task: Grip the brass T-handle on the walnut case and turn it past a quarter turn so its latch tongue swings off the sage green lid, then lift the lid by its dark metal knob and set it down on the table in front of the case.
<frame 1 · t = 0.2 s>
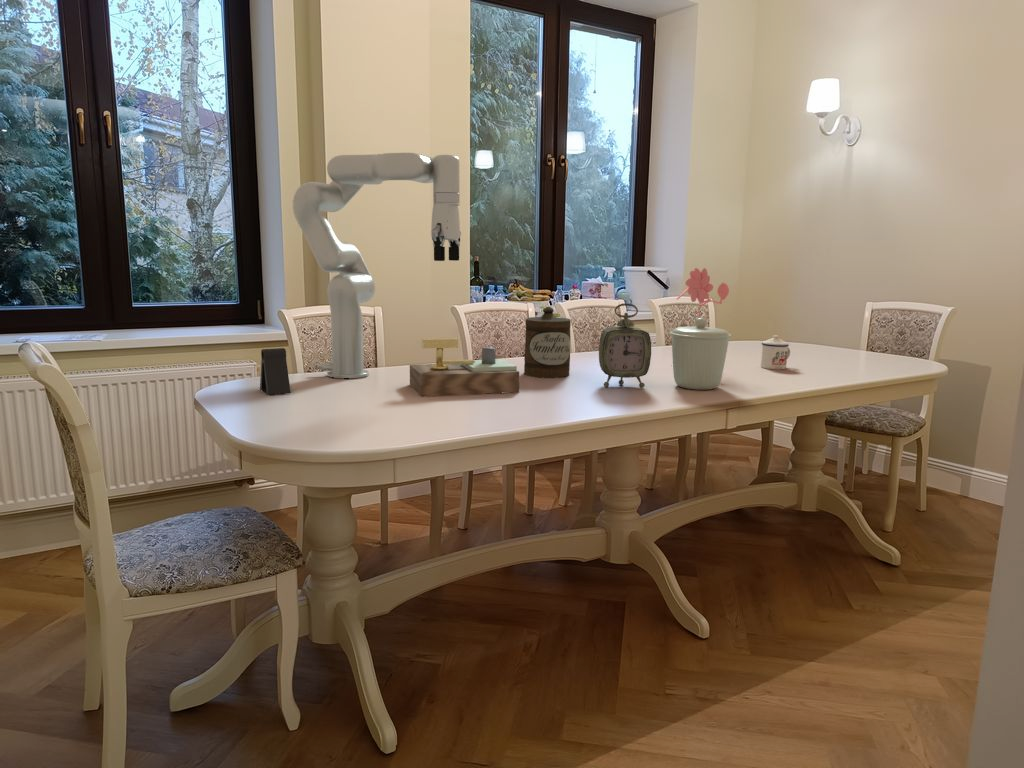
hand: (446, 260, 216), 36 cm above the table, tool pointing down, fingers open, 9 cm apart
lid: (488, 367, 217), point 6 cm above the table, touching walnut case
brass key: (448, 353, 212), point 10 cm above the table, hinge at 0.0°
walnut case: (463, 388, 216), on the table
pink paper flower: (692, 367, 265), on the table
canister: (696, 387, 226), on the table
black folding stand: (275, 392, 205), on the table
tabletop clock: (622, 386, 225), on the table
wooden container: (546, 374, 244), on the table
teacup with lid: (776, 368, 268), on the table
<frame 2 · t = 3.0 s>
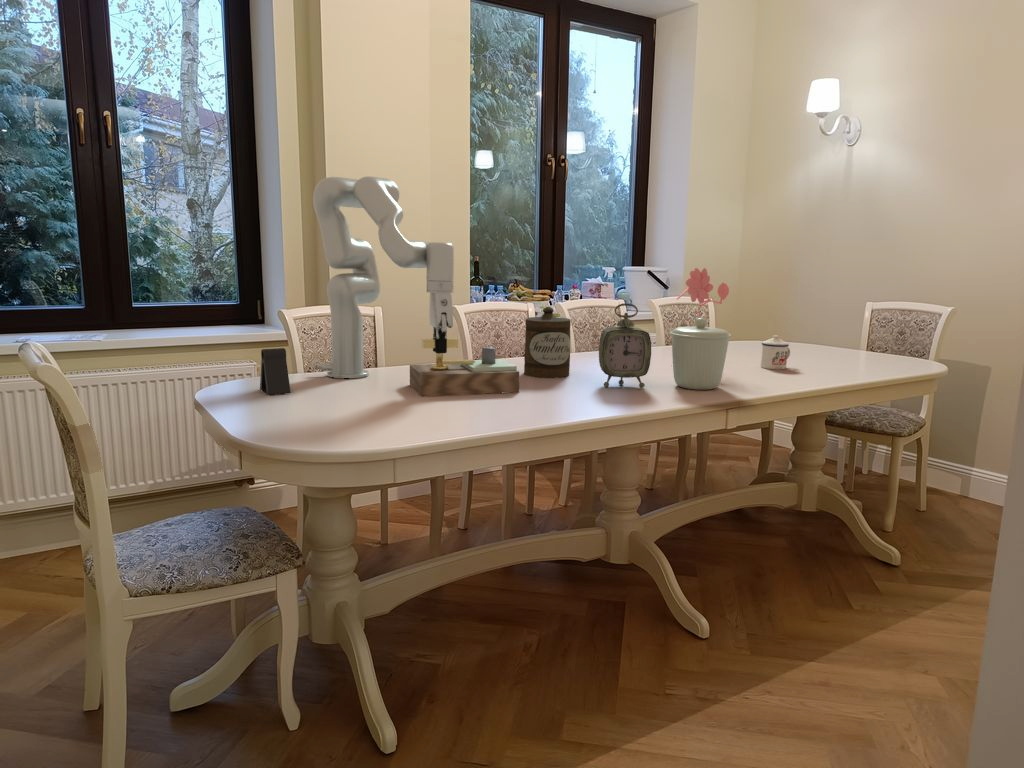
hand: (439, 351, 212), 11 cm above the table, tool pointing down, fingers closed on brass key, 2 cm apart
brass key: (448, 353, 212), point 10 cm above the table, hinge at 0.0°, touching gripper
everything else where it was.
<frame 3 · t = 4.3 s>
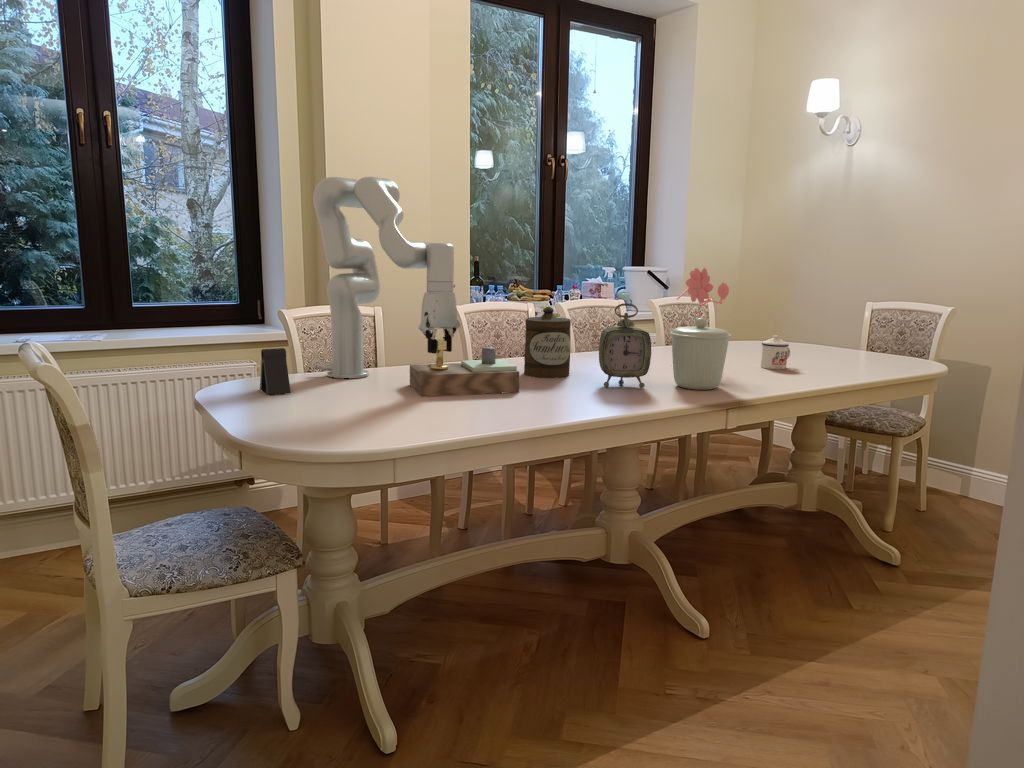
hand: (439, 351, 212), 11 cm above the table, tool pointing down, fingers closed on brass key, 5 cm apart
brass key: (438, 352, 214), point 10 cm above the table, hinge at 85.1°, touching gripper
everything else where it was.
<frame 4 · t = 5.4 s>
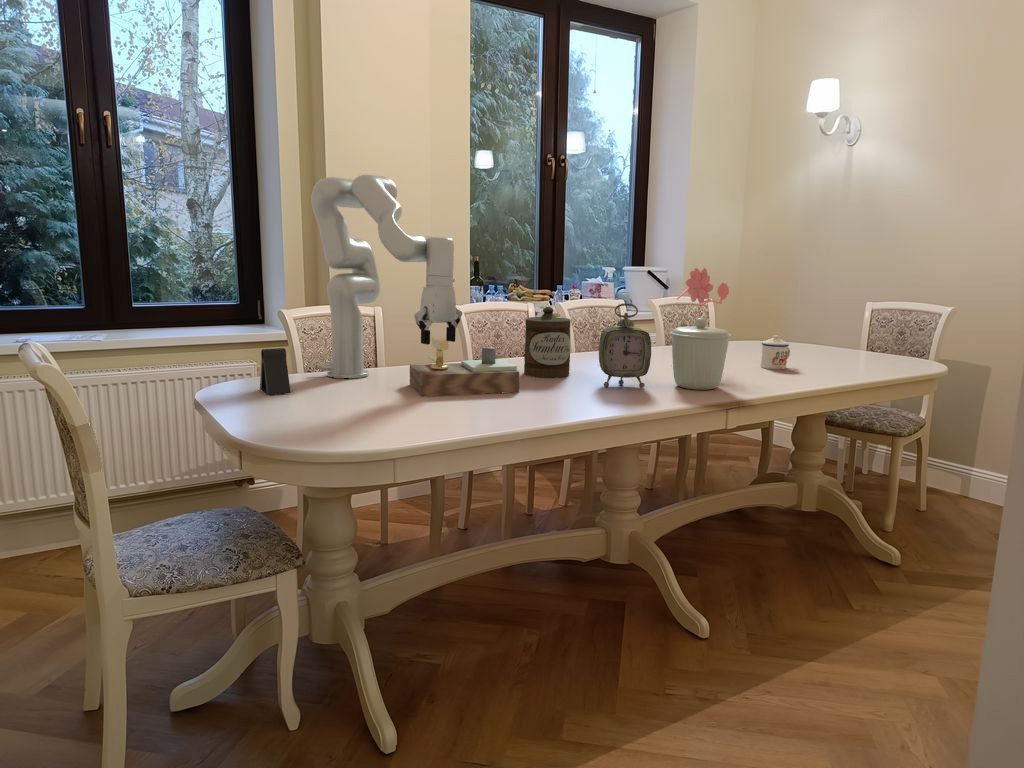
hand: (438, 342, 211), 14 cm above the table, tool pointing down, fingers open, 9 cm apart
brass key: (437, 352, 214), point 10 cm above the table, hinge at 91.3°
everything else where it was.
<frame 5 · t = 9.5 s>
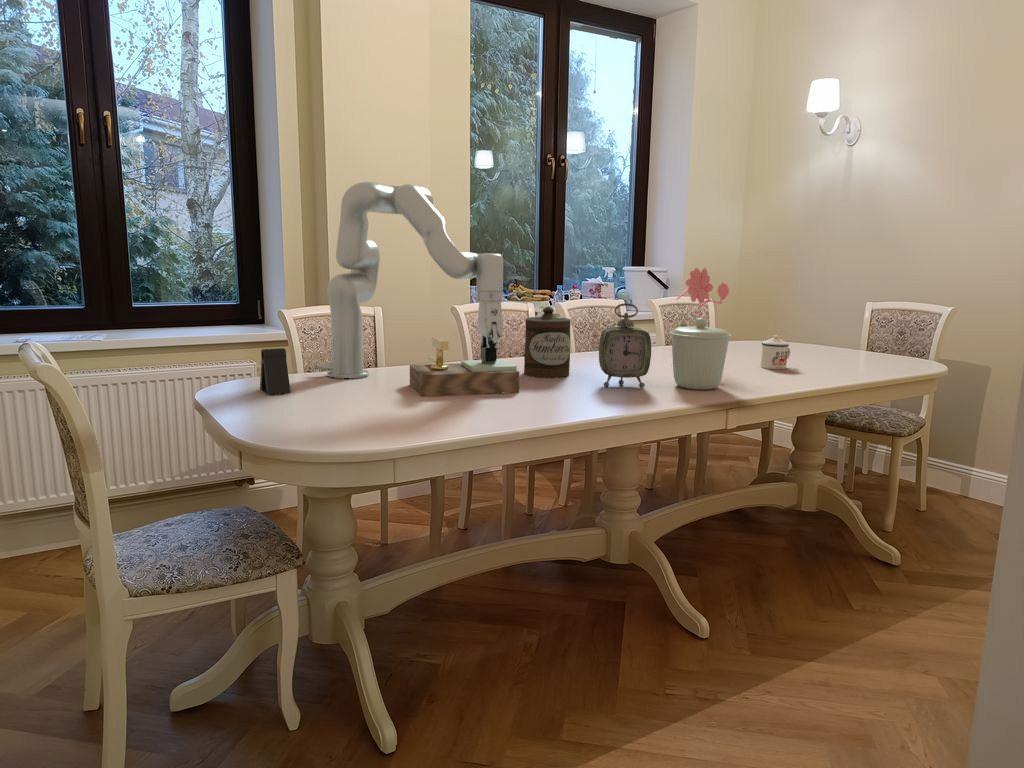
hand: (488, 359, 217), 8 cm above the table, tool pointing down, fingers closed on lid, 4 cm apart
lid: (488, 367, 217), point 6 cm above the table, touching gripper, walnut case
brass key: (437, 352, 214), point 10 cm above the table, hinge at 91.6°
everything else where it was.
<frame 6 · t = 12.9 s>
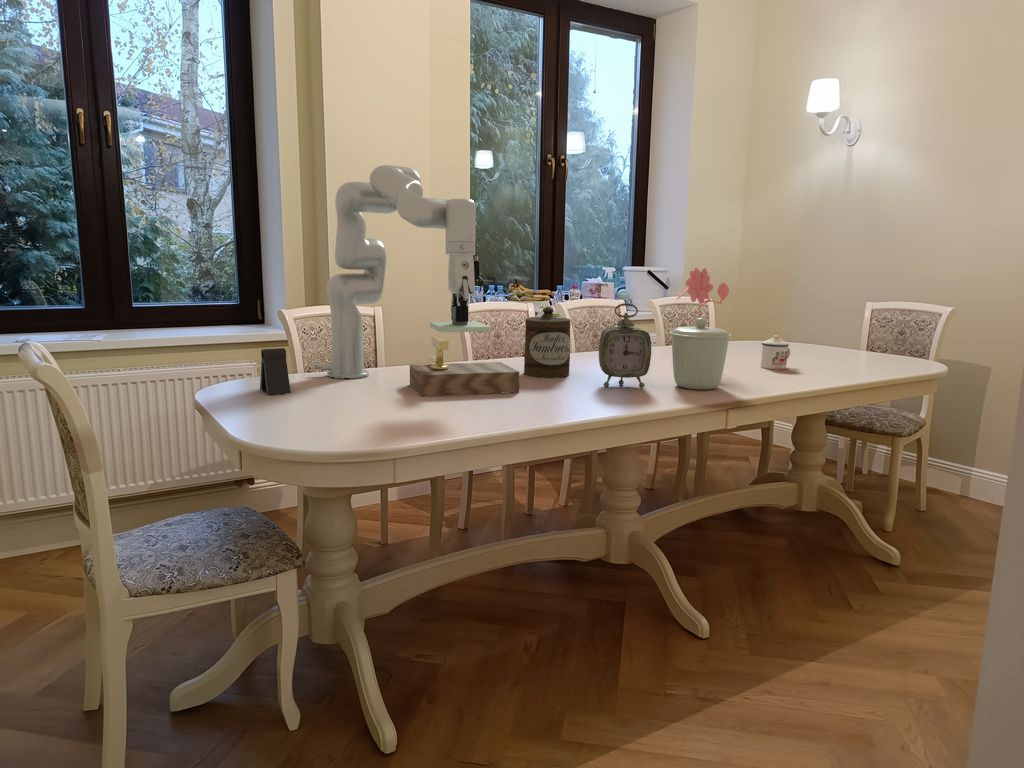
hand: (459, 320, 192), 22 cm above the table, tool pointing down, fingers closed on lid, 4 cm apart
lid: (459, 329, 193), point 20 cm above the table, touching gripper
everything else where it was.
when the fingers open (4 cm above the table, at t = 16.4 s): lid drops 3 cm, on the table.
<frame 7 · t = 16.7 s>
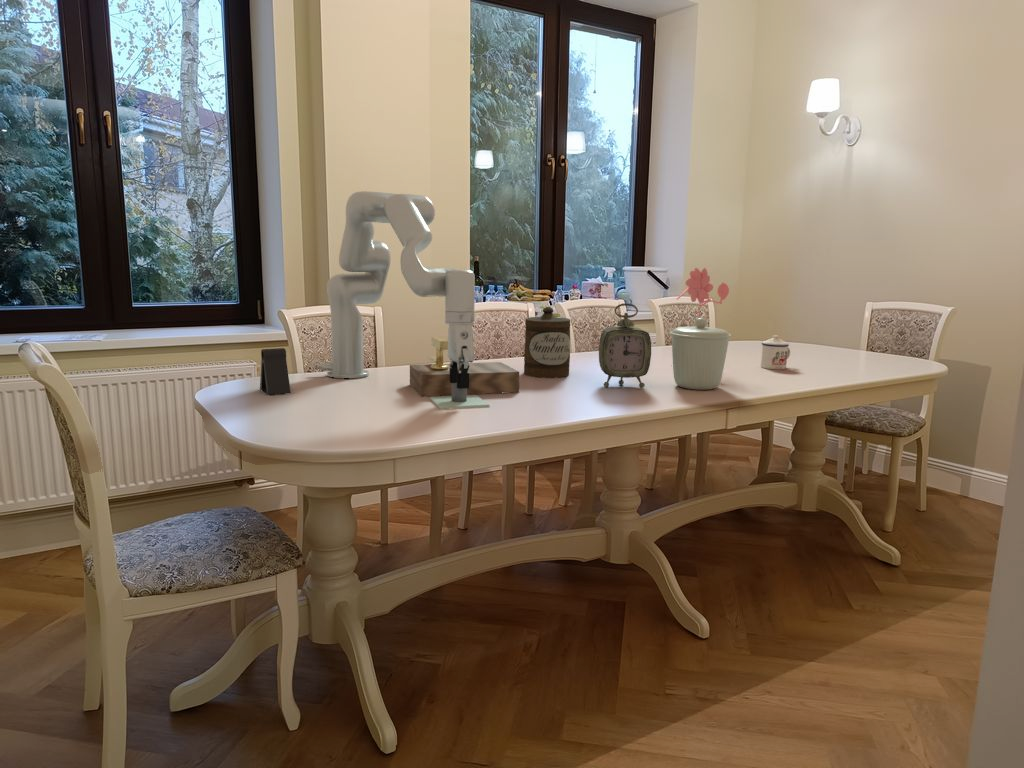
hand: (459, 384, 195), 5 cm above the table, tool pointing down, fingers open, 7 cm apart
lid: (459, 405, 196), on the table
everything else where it was.
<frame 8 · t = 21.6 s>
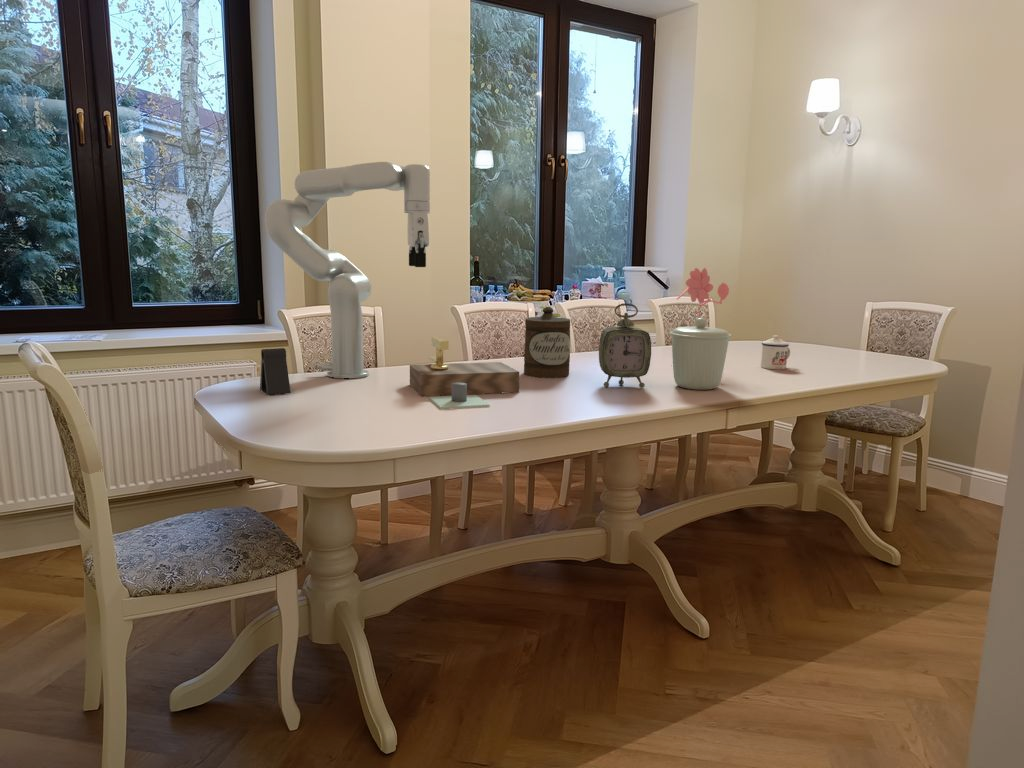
hand: (417, 266, 223), 34 cm above the table, tool pointing down, fingers open, 9 cm apart
nothing on the table moved.
at the end: brass key at +92° (first picture: +0°); lid inside the target area (0.1 cm from its centre), on the table; the gripper is holding nothing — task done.
